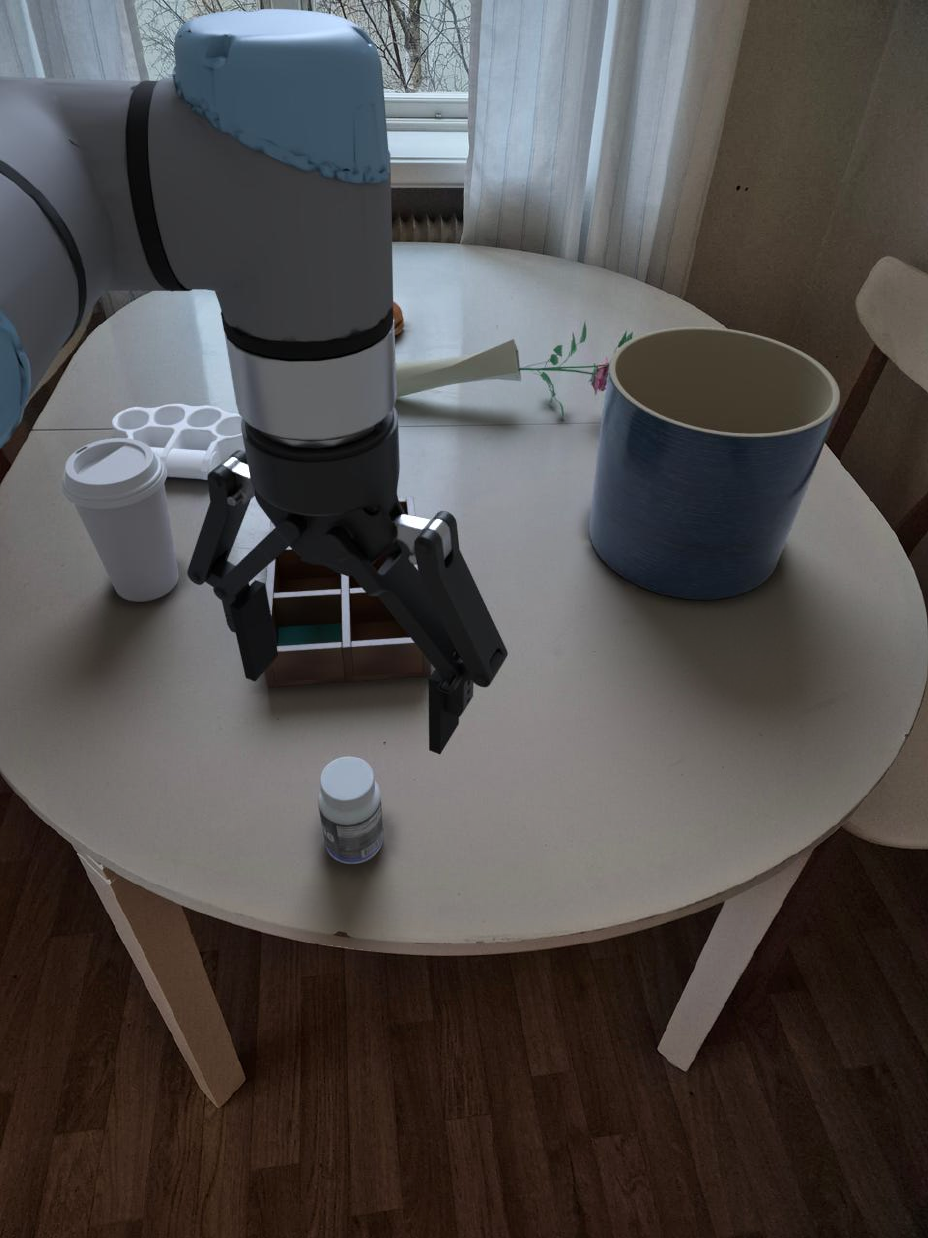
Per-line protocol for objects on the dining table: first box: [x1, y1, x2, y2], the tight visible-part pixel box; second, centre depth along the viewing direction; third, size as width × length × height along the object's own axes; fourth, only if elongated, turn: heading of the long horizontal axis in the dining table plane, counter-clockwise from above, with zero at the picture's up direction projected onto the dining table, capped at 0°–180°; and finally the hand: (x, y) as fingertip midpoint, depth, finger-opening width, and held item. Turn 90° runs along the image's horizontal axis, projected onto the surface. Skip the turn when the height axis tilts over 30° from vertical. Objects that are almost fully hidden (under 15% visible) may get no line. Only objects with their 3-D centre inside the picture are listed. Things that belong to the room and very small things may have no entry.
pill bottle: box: [317, 756, 384, 865], centre depth 66 cm, size 5×5×8 cm
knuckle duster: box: [111, 403, 245, 481], centre depth 108 cm, size 3×18×15 cm
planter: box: [588, 326, 841, 601], centre depth 91 cm, size 22×22×20 cm
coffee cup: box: [61, 437, 180, 603], centre depth 86 cm, size 10×10×15 cm
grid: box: [263, 496, 432, 688], centre depth 88 cm, size 15×23×5 cm
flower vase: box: [395, 321, 634, 421], centre depth 116 cm, size 12×12×35 cm
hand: (350, 701), depth 56 cm, fingers open, 13 cm apart
